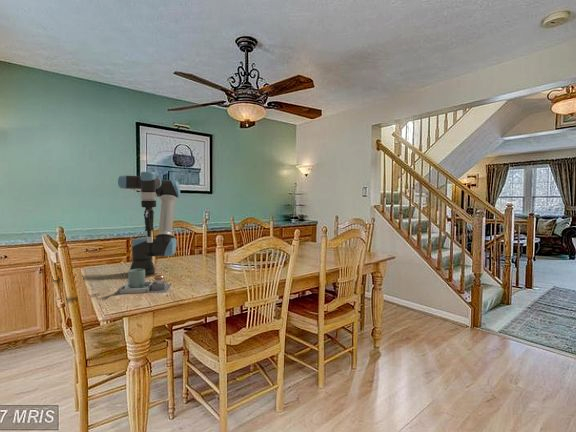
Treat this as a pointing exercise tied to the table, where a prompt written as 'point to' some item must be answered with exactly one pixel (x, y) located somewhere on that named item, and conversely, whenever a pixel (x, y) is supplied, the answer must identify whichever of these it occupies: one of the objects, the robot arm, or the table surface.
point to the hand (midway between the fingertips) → (149, 242)
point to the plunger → (158, 279)
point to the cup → (136, 278)
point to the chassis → (145, 288)
